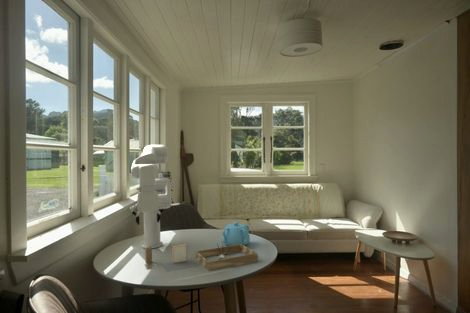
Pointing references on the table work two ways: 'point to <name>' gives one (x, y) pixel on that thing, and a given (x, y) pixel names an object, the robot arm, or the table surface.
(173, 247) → the tile
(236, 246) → the wooden frame
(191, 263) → the mat
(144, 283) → the table surface
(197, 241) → the table surface
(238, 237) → the decorative pot
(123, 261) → the table surface
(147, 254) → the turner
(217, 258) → the reed diffuser
